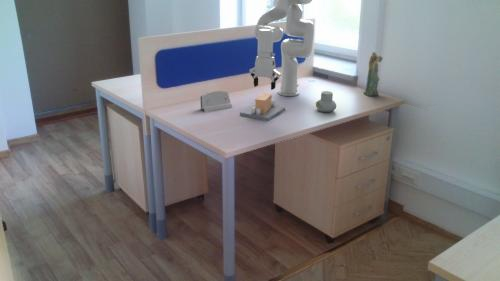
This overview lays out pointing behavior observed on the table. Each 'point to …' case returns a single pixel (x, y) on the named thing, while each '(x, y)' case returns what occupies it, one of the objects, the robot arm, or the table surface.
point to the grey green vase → (326, 102)
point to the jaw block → (263, 102)
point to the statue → (372, 75)
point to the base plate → (267, 116)
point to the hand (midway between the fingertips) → (264, 87)
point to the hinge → (215, 101)
